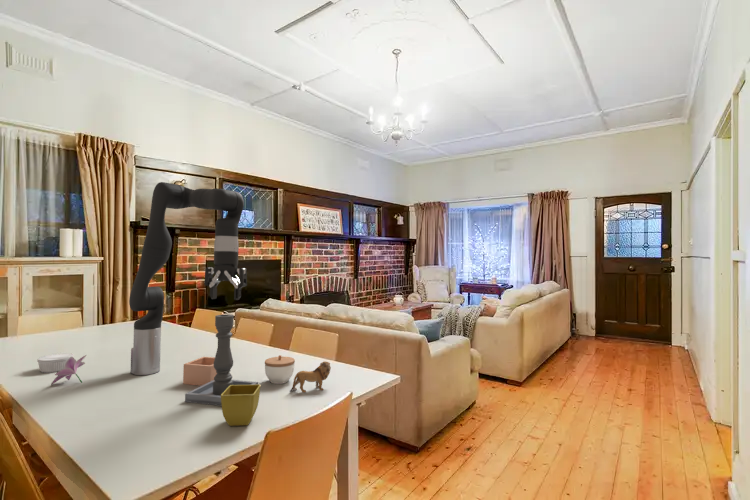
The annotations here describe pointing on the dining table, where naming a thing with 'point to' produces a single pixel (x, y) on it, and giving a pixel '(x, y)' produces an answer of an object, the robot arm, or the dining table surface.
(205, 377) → the square copper bin
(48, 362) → the ramekin
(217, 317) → the candle holder
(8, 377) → the dining table surface
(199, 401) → the tray
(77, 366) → the lily
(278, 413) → the dining table surface
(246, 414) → the flower pot
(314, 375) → the lion figurine
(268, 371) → the lidded jar
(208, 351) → the dining table surface
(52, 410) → the dining table surface
